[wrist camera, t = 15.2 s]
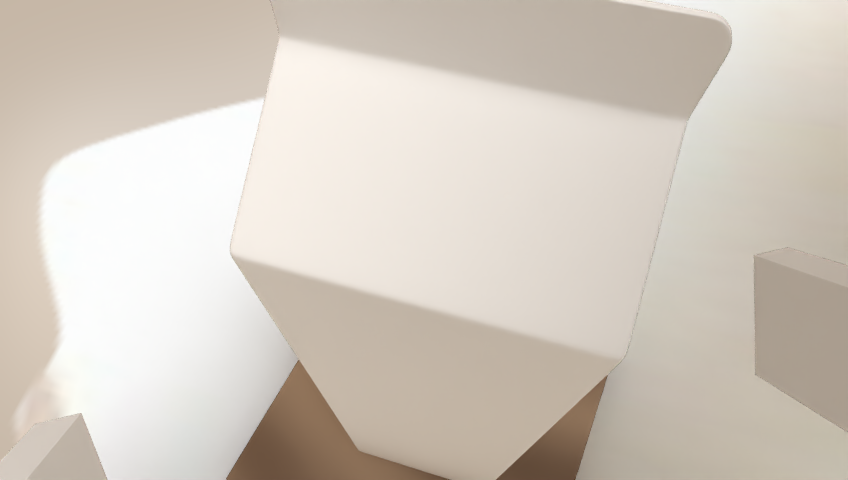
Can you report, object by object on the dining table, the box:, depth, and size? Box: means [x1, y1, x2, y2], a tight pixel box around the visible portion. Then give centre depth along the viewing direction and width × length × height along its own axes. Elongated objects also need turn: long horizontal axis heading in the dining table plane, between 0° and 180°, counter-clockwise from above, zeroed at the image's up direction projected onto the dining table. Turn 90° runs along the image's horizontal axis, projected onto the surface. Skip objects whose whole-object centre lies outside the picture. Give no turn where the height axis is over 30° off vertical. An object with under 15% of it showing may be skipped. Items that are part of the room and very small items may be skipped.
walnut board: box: [226, 360, 608, 480], centre depth 26 cm, size 14×14×1 cm
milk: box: [230, 0, 732, 480], centre depth 16 cm, size 6×6×22 cm
